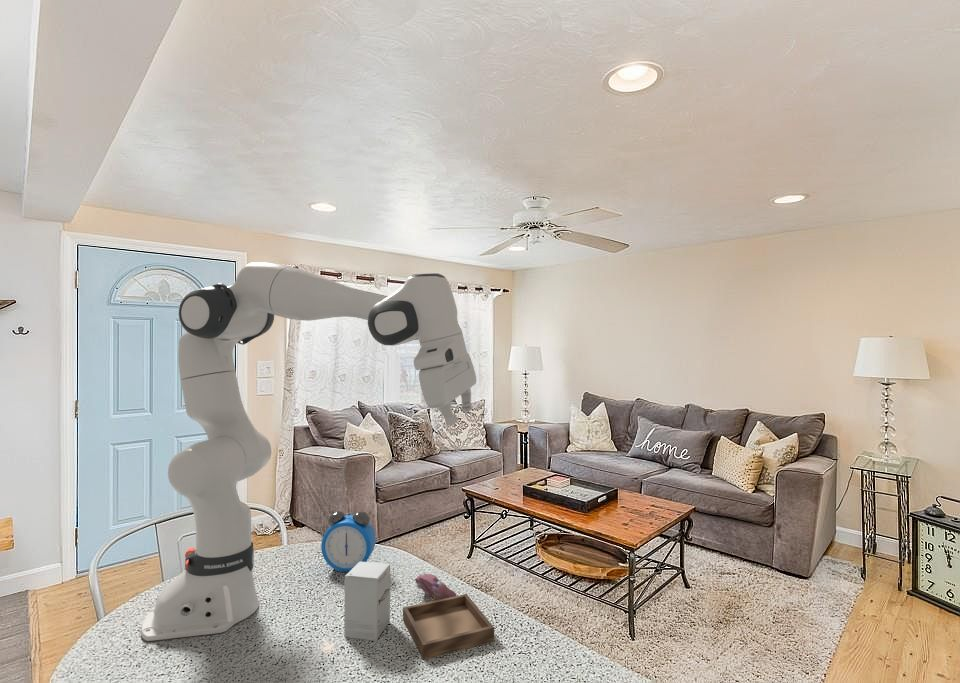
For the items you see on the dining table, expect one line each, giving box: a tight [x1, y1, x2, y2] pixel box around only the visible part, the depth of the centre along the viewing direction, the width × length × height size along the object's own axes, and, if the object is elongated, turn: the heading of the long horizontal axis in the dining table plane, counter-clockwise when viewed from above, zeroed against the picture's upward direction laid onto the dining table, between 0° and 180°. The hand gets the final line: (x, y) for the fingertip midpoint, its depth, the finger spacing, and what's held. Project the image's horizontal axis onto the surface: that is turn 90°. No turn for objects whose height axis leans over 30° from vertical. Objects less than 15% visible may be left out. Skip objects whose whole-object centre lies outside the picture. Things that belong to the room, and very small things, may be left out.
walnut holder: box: [402, 593, 495, 661], centre depth 105 cm, size 15×15×3 cm
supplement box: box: [343, 561, 391, 642], centre depth 106 cm, size 7×7×13 cm
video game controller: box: [414, 571, 457, 601], centre depth 119 cm, size 10×5×7 cm, turn 44°
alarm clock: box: [320, 510, 377, 573], centre depth 135 cm, size 13×6×15 cm, turn 87°
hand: (460, 417), depth 103 cm, fingers open, 8 cm apart
